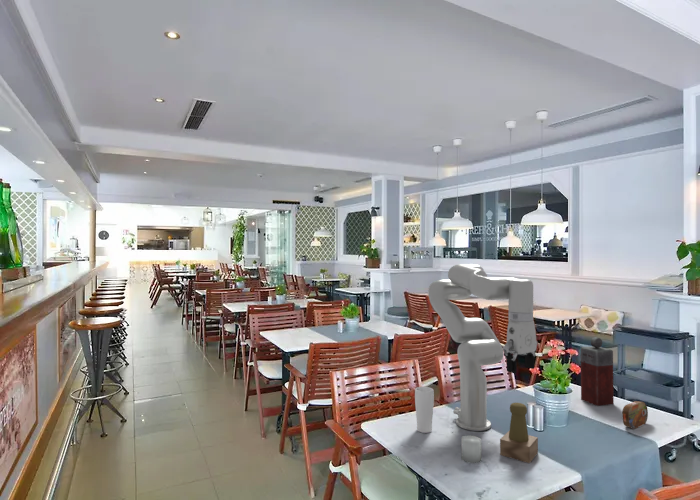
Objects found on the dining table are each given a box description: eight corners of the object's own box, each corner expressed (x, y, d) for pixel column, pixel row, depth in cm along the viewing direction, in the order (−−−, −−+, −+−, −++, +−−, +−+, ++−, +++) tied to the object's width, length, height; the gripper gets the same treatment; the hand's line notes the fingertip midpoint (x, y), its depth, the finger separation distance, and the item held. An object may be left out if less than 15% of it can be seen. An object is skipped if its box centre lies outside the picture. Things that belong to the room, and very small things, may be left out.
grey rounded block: (457, 457, 135) (457, 438, 136) (469, 452, 139) (469, 434, 139) (473, 465, 131) (473, 445, 131) (485, 459, 134) (485, 440, 134)
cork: (530, 443, 134) (529, 407, 135) (509, 441, 136) (509, 406, 136) (527, 435, 140) (527, 401, 141) (507, 433, 142) (507, 399, 142)
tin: (629, 431, 157) (629, 407, 157) (620, 428, 159) (620, 405, 159) (648, 422, 165) (648, 400, 165) (639, 420, 167) (639, 398, 168)
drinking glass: (425, 436, 152) (425, 393, 152) (411, 430, 157) (411, 388, 157) (437, 431, 156) (437, 389, 156) (423, 425, 161) (423, 385, 162)
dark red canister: (592, 396, 196) (592, 334, 197) (613, 404, 186) (613, 339, 186) (576, 397, 194) (576, 335, 194) (597, 406, 183) (596, 340, 184)
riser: (500, 454, 137) (500, 439, 137) (509, 445, 144) (509, 430, 144) (529, 463, 132) (529, 446, 132) (537, 453, 139) (537, 437, 139)
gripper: (514, 321, 132) (514, 377, 132) (546, 316, 142) (546, 368, 142) (494, 318, 138) (494, 371, 138) (525, 314, 148) (525, 363, 148)
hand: (520, 370), depth 140 cm, fingers open, 9 cm apart
